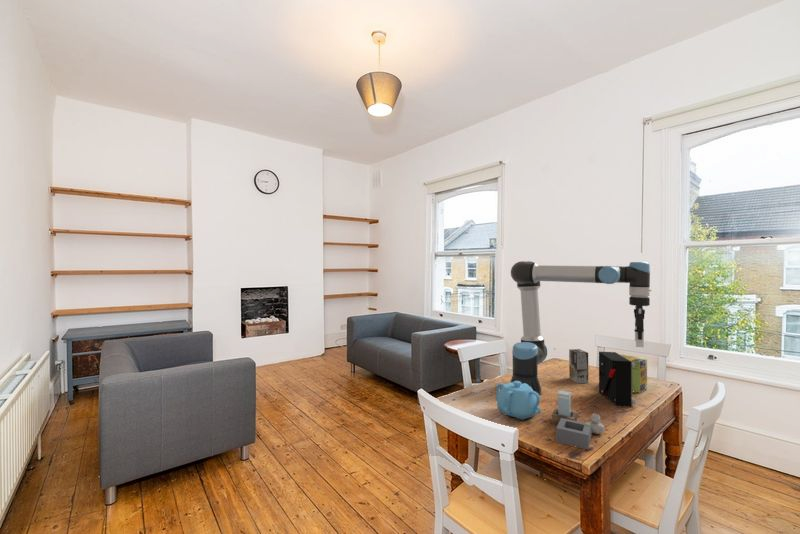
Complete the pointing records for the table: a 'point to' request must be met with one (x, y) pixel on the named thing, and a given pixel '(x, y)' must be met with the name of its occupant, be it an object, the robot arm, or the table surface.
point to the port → (573, 433)
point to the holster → (557, 417)
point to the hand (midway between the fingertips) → (639, 344)
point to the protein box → (638, 373)
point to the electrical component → (616, 378)
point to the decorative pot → (517, 400)
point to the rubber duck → (596, 424)
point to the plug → (564, 403)
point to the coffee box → (578, 365)
